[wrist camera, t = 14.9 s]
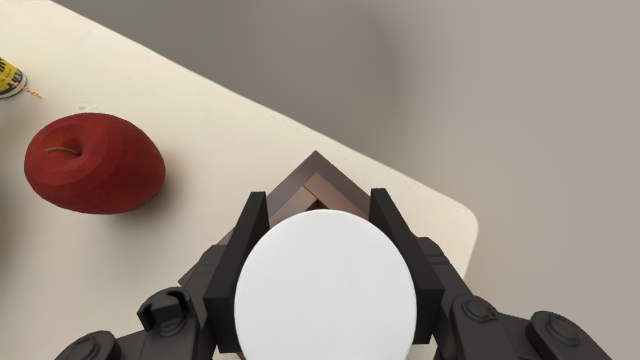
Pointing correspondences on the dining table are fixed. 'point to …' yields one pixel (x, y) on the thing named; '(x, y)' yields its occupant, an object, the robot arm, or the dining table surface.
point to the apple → (94, 164)
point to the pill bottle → (325, 292)
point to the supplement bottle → (6, 89)
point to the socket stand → (309, 197)
